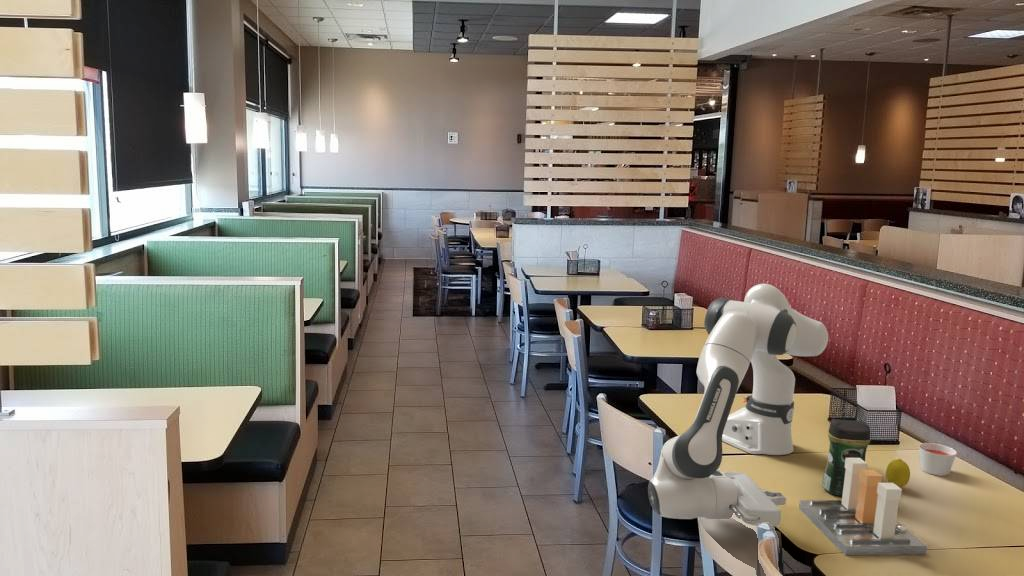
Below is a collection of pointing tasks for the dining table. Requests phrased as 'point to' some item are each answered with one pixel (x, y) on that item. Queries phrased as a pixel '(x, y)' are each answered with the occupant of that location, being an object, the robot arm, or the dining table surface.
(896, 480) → the lemon
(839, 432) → the coffee jar
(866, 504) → the tan tall block
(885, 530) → the cream knob right
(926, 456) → the white ramekin
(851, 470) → the cream knob left
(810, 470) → the dining table surface
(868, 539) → the console
